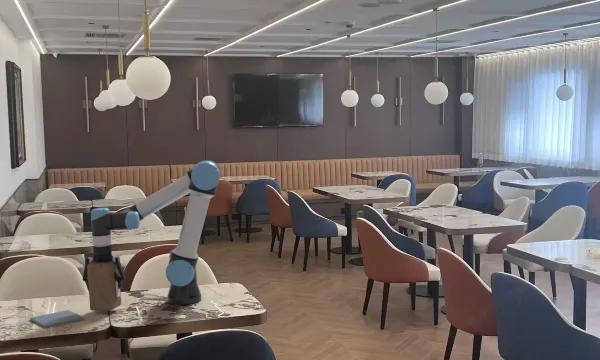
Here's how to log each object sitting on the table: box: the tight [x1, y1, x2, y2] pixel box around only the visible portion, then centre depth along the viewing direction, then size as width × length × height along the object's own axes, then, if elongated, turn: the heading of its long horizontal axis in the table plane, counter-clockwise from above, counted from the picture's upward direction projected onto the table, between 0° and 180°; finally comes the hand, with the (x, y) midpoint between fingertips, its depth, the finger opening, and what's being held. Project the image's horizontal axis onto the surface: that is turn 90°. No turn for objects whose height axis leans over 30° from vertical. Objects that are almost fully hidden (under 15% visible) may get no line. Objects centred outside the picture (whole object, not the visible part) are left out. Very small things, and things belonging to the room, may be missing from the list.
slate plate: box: [29, 309, 86, 329], centre depth 271 cm, size 16×16×1 cm
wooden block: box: [87, 260, 122, 312], centre depth 280 cm, size 10×10×20 cm
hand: (105, 296), depth 281 cm, fingers closed on wooden block, 10 cm apart
